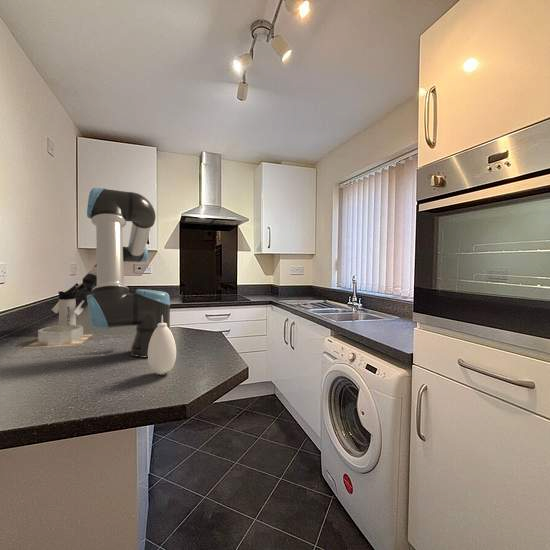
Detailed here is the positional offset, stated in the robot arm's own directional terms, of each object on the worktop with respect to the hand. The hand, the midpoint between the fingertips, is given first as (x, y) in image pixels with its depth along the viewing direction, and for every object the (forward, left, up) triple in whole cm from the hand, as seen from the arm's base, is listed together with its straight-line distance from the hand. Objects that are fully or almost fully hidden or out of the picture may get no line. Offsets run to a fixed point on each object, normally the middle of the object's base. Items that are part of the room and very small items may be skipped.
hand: (64, 312), depth 132 cm
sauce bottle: (-60, -46, -11) cm, 77 cm away
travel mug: (+1, -1, -11) cm, 11 cm away
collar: (-14, -4, -9) cm, 18 cm away
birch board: (-14, -4, -10) cm, 18 cm away
